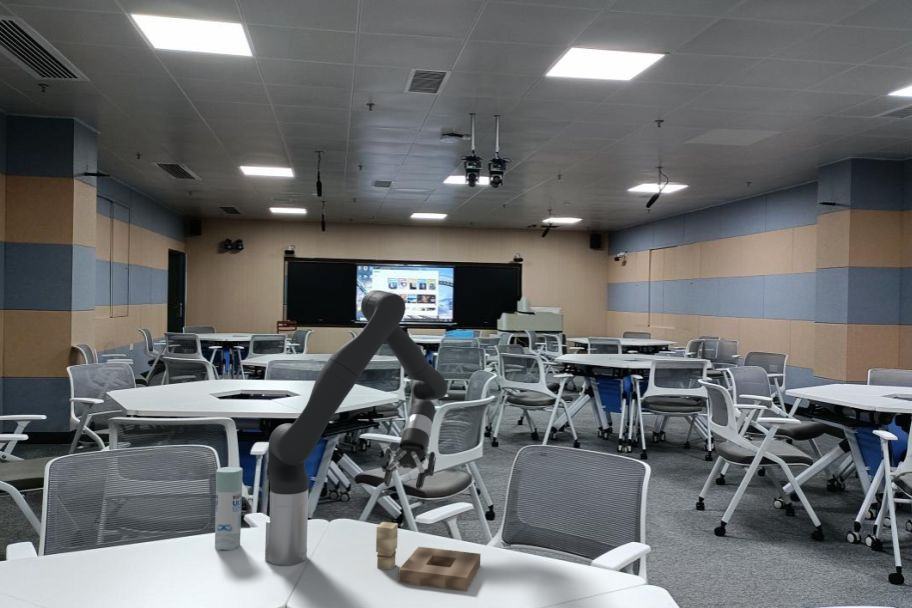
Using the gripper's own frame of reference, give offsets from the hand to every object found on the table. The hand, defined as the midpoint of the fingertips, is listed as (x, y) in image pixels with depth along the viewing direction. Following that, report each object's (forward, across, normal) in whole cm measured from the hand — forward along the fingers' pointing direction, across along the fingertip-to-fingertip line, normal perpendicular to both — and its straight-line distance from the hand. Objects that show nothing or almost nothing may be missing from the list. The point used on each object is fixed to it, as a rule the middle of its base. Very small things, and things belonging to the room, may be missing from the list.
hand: (402, 486), depth 168 cm
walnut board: (+20, +14, +4) cm, 24 cm away
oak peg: (+19, 0, +4) cm, 20 cm away
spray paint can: (+20, -44, +4) cm, 48 cm away
